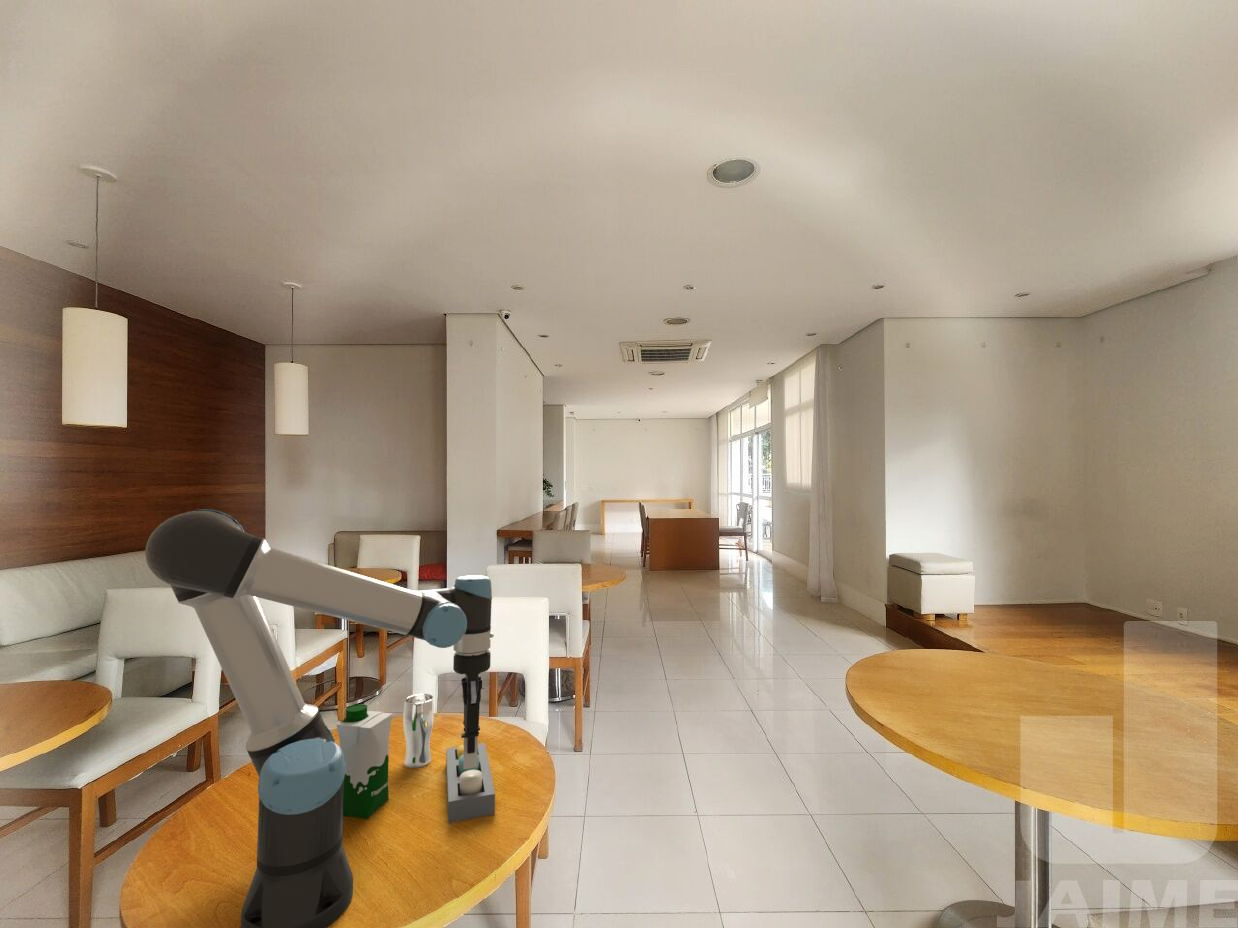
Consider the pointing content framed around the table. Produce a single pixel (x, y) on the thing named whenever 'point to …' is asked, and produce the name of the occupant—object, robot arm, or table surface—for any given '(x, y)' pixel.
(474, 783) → the button ivory
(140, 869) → the table surface
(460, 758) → the button teal
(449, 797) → the console
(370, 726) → the milk carton
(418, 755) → the beer glass
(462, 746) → the button amber
